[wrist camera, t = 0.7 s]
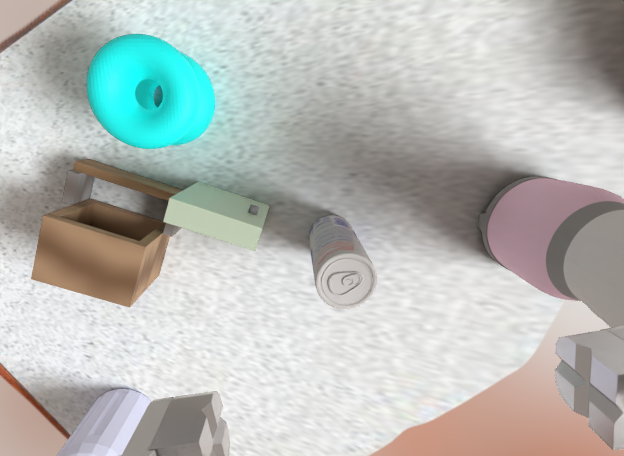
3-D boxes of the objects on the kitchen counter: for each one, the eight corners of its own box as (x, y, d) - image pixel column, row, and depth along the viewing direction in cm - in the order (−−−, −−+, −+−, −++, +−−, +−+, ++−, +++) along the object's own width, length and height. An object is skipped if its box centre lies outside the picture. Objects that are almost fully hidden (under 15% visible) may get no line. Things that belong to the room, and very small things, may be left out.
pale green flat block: (200, 175, 46) (171, 189, 35) (271, 199, 47) (265, 220, 36) (193, 199, 47) (163, 221, 36) (263, 223, 48) (255, 251, 37)
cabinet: (89, 158, 45) (39, 166, 36) (191, 192, 46) (167, 208, 38) (70, 248, 47) (19, 275, 39) (167, 277, 49) (140, 310, 40)
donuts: (199, 149, 35) (88, 149, 35) (219, 144, 45) (133, 144, 45) (190, 31, 33) (71, 29, 32) (214, 52, 42) (122, 51, 42)
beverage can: (300, 241, 48) (302, 290, 34) (325, 205, 47) (339, 240, 33) (335, 264, 50) (352, 321, 35) (361, 230, 48) (390, 274, 34)
